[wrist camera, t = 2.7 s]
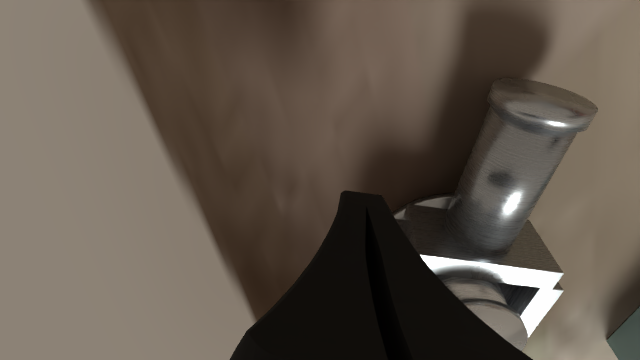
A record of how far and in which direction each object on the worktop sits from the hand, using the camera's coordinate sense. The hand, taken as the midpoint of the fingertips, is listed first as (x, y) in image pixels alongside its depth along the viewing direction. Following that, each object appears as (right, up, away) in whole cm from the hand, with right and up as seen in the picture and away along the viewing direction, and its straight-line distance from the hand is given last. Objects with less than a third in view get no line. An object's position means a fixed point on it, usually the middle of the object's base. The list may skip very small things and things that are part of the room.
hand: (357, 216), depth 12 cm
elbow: (+6, 0, +6) cm, 8 cm away
